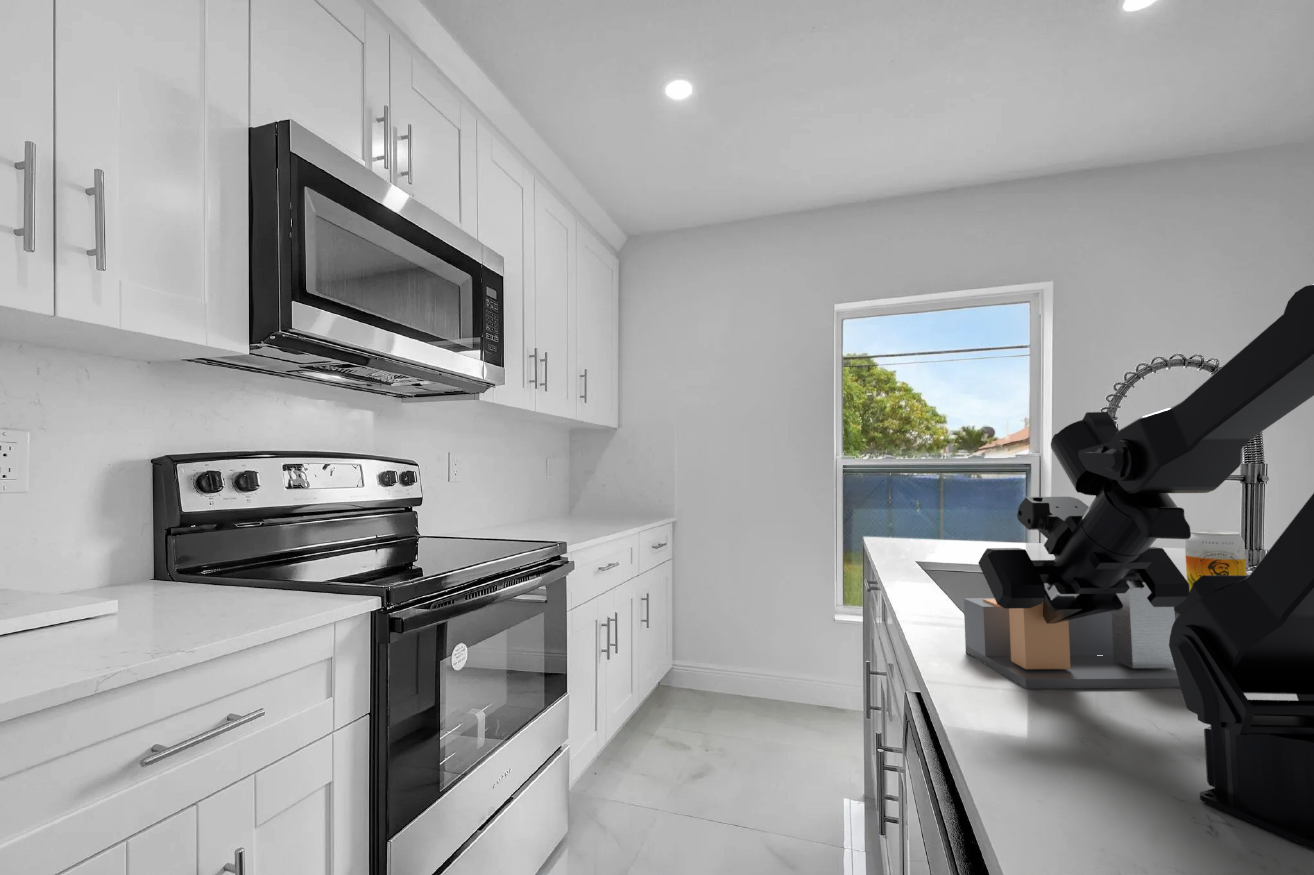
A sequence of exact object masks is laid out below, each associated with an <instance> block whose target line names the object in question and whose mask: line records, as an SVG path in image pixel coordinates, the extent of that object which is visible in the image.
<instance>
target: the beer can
mask: <svg viewBox="0 0 1314 875" xmlns="http://www.w3.org/2000/svg"><path fill="white" fill-rule="evenodd" d="M1190 532H1191V537H1190V538H1189V539H1184V552H1185V553H1184V554H1185V570H1186V571H1185V572H1186V580H1187V582H1188V583H1189V584H1190V590H1191V588H1192V585H1193V583H1194V582H1195V581H1197V580H1198V579H1199V578H1200V577H1201V576H1203V575H1247V563H1246V561H1247V560H1246V548H1245V546H1246V545H1245V540H1244V539H1243V538H1242V536H1241V533H1240V532H1237V531H1229V530H1215V529H1214V530H1213V529H1212V530H1210V529H1190Z"/></svg>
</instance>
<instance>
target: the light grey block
mask: <svg viewBox="0 0 1314 875" xmlns="http://www.w3.org/2000/svg"><path fill="white" fill-rule="evenodd" d="M1142 583H1143V584H1144V586H1145V587H1144V588H1143V589H1128V591H1127V592H1126V593H1117V596H1118V597H1119V599H1120V601H1121V602H1122V604H1123V607H1122V609H1120V610H1113V611H1111V615H1112V635H1113V656H1114V661H1117V662H1119V663H1121V664H1124V665H1126V666H1129V667H1131V668H1175V665H1174V662H1173V658H1172V655H1171V651H1170V647H1169V640H1170V635H1171V630H1172V626H1173V624H1174V621H1175V620H1176V615H1175V614H1176V612H1175V611H1174V607H1153V605H1152V604H1151V603H1150V602H1149V600H1148V599H1147V597H1148V596H1149V595H1150V594H1151V593H1152V592H1151V591H1150V590H1149V588H1148V587H1147V585H1146V584H1145V582H1142Z"/></svg>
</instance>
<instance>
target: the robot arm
mask: <svg viewBox="0 0 1314 875" xmlns="http://www.w3.org/2000/svg"><path fill="white" fill-rule="evenodd" d="M1189 394H1190V395H1188V396H1187V397H1186V398H1184V400H1182V401H1180V402H1179V403H1176V404H1175V405H1173V406H1171V407H1169V408H1165V409H1162V410H1159V411H1156V412H1152V413H1150V414H1146V415H1143V416H1141V417H1139V418H1137V419H1135V420H1134V421H1132V422H1130V423H1129V424H1127V425H1126V426H1123V428H1120V429H1119V428H1118V427H1117V425H1116V424H1115V421H1114V419H1113V417H1112V416H1111V415H1110V413H1108V412H1107V411H1101V412H1100V411H1093V412H1091V411H1089V412H1088V411H1087V412H1086V413H1085V414H1084V416H1083V419H1081V420H1077V421H1075V422H1072V423H1070V424H1069V425H1067V426H1064V428H1062V429H1061V430H1059V432H1057V433H1055V434H1054V435H1053V437H1052V438H1051V440H1050V441H1051V442H1050V448H1051V450H1052V452H1053V454H1054V455H1055V457H1056V458H1057V461H1058V462H1059V464H1060V466H1061V467H1062V469H1063V471H1064V473H1065V475H1066V476H1067V478H1068V479H1069V481H1070V483H1071V485H1072V486H1073V487H1074V490H1075V491H1076V492H1077V493H1078V494H1079V493H1080V494H1083V495H1086V496H1095V497H1094V499H1093V500H1092V502H1091V504H1090V505H1089V506H1088V505H1087V504H1086V503H1084V502H1083V501H1082V500H1081V499H1079V498H1076V497H1073V496H1025V497H1024V499H1023V500H1022V501H1021V503H1020V504H1019V505H1018V509H1017V513H1016V517H1017V520H1018V521H1019V523H1020V524H1022V525H1023V526H1024V528H1026V529H1027V530H1029V531H1031V530H1032V531H1038V532H1039V533H1040V534H1041V535H1043V536H1044V538H1046V541H1045V543H1044V544H1043V546H1044V549H1045V550H1046V552H1047V554H1048V555H1053V556H1054V559H1035V560H1034V559H1033V560H1032V559H1031V557H1030V555H1029V553H1028V551H1027V550H1026V549H1024V548H1019V547H991V548H990V547H988V548H986V549H985V551H984V552H983V553H982V554H981V557H980V559H979V560H978V562H977V563H978V565H979V568H980V570H981V573H982V574H983V576H984V578H985V580H986V583H987V585H988V588H989V589H990V592H991V594H992V595H993V598H995V600H996V602H997V604H998V605H1000V606H1002V607H1003V608H1005V609H1006V608H1032V607H1034V606H1037V605H1039V604H1041V603H1042V602H1043V617H1044V619H1045V621H1046V623H1047V624H1055V623H1059V622H1063V621H1067V620H1071V619H1075V618H1079V617H1084V616H1089V615H1093V614H1098V613H1103V612H1108V611H1113V610H1120V609H1122V607H1123V604H1122V602H1121V601H1120V599H1119V597H1118V596H1117V593H1126V592H1127V591H1128V589H1143V588H1144V587H1145V586H1144V584H1143V583H1142V582H1145V584H1146V585H1147V587H1148V588H1149V590H1150V591H1151V592H1152V593H1151V594H1150V595H1149V596H1148V597H1147V599H1148V600H1149V602H1150V603H1151V604H1152V605H1153V607H1174V611H1175V613H1177V614H1179V615H1178V616H1176V617H1175V621H1174V624H1173V626H1172V630H1171V635H1170V640H1169V647H1170V651H1171V655H1172V658H1173V662H1174V665H1175V669H1176V672H1177V676H1178V679H1179V683H1180V686H1181V688H1180V690H1181V693H1182V696H1183V700H1184V703H1185V706H1186V709H1187V710H1188V711H1190V712H1191V713H1194V714H1196V715H1197V721H1199V722H1200V723H1203V724H1206V725H1210V726H1208V727H1205V728H1204V729H1203V737H1204V753H1205V754H1204V755H1205V757H1204V758H1205V771H1206V782H1207V784H1208V786H1209V787H1211V789H1205V790H1202V791H1200V792H1199V800H1200V801H1201V802H1203V803H1205V804H1207V805H1209V806H1213V807H1215V808H1217V809H1219V810H1221V811H1223V812H1226V813H1228V814H1231V815H1233V816H1235V817H1238V818H1240V819H1243V820H1245V821H1247V822H1250V823H1252V824H1254V825H1257V826H1259V827H1261V828H1264V829H1266V830H1268V831H1270V832H1273V833H1275V834H1277V835H1279V836H1282V837H1284V838H1287V839H1289V840H1292V841H1293V842H1296V843H1299V844H1301V845H1303V846H1306V847H1308V848H1311V849H1314V492H1313V493H1312V494H1311V495H1310V497H1309V498H1308V500H1307V501H1306V502H1305V503H1304V504H1303V506H1302V507H1301V508H1300V509H1299V511H1298V512H1297V513H1296V515H1295V516H1294V517H1293V519H1292V520H1291V521H1290V522H1289V523H1288V525H1287V527H1285V529H1284V530H1283V531H1282V533H1281V534H1280V535H1279V537H1278V538H1277V539H1276V540H1275V542H1274V543H1273V544H1272V546H1270V548H1269V550H1268V551H1267V552H1266V554H1264V556H1263V557H1262V559H1261V560H1260V561H1259V562H1258V564H1257V565H1256V567H1255V568H1253V570H1252V571H1251V572H1250V574H1248V575H1247V574H1246V575H1203V576H1201V577H1200V578H1199V579H1198V580H1197V581H1195V582H1194V583H1193V585H1192V588H1191V590H1190V584H1189V583H1188V582H1187V578H1185V576H1184V575H1183V574H1182V572H1181V570H1180V569H1179V568H1178V567H1177V565H1176V564H1175V563H1174V561H1173V560H1172V559H1171V557H1170V556H1169V554H1168V553H1167V552H1166V550H1165V549H1164V548H1163V547H1158V546H1153V544H1154V542H1155V541H1156V540H1157V539H1161V540H1162V539H1164V540H1165V539H1168V540H1170V539H1171V540H1185V539H1189V538H1190V537H1191V532H1190V530H1191V525H1190V524H1189V522H1188V521H1187V520H1186V516H1185V509H1184V508H1183V507H1178V505H1177V504H1176V503H1175V502H1174V500H1173V499H1172V497H1171V496H1170V495H1169V494H1206V493H1210V492H1213V491H1215V490H1216V489H1218V488H1219V487H1220V486H1221V485H1222V484H1223V483H1224V482H1225V481H1227V479H1228V478H1229V477H1230V476H1231V475H1233V473H1235V471H1236V470H1237V469H1238V468H1239V467H1240V466H1241V465H1242V463H1243V454H1244V453H1243V451H1244V450H1243V448H1244V447H1245V446H1246V445H1247V444H1248V443H1249V442H1250V440H1252V439H1253V438H1254V437H1256V436H1257V435H1259V434H1260V433H1261V432H1264V431H1265V430H1266V429H1268V428H1269V427H1270V426H1272V425H1274V424H1275V423H1277V421H1279V420H1281V419H1282V418H1283V417H1285V416H1287V414H1289V413H1291V412H1292V411H1293V410H1294V411H1295V409H1296V408H1299V406H1301V405H1302V404H1304V403H1305V402H1307V401H1308V400H1309V399H1312V397H1314V283H1313V284H1308V285H1305V286H1303V287H1302V288H1300V289H1298V290H1297V291H1295V292H1294V294H1293V295H1292V296H1291V297H1290V298H1289V299H1288V301H1287V304H1286V305H1285V308H1284V311H1283V313H1282V314H1281V315H1280V316H1278V317H1277V318H1276V319H1275V320H1273V322H1271V323H1270V324H1269V325H1268V326H1267V327H1266V328H1265V329H1264V330H1262V331H1261V332H1260V333H1259V334H1258V335H1257V336H1255V338H1253V339H1252V340H1251V341H1249V343H1248V344H1247V345H1245V346H1244V347H1243V348H1242V349H1241V350H1240V351H1238V353H1236V354H1235V355H1234V356H1233V357H1232V358H1230V359H1229V360H1228V361H1227V362H1226V363H1225V364H1224V365H1223V366H1221V367H1219V369H1218V370H1217V371H1216V372H1214V373H1213V374H1212V376H1209V378H1208V379H1207V380H1205V381H1204V382H1203V383H1202V384H1200V386H1199V387H1197V388H1196V389H1195V390H1194V391H1193V392H1192V393H1189ZM1246 694H1252V695H1254V694H1255V695H1256V694H1259V695H1261V694H1262V695H1296V697H1297V700H1293V699H1292V700H1288V699H1287V700H1284V699H1283V700H1282V699H1248V697H1247V696H1246Z"/></svg>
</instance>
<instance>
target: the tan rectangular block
mask: <svg viewBox="0 0 1314 875" xmlns="http://www.w3.org/2000/svg"><path fill="white" fill-rule="evenodd" d="M1009 620H1010V645H1011V661H1012V662H1014V663H1015V664H1017V665H1019V666H1021V667H1023V668H1025V669H1071V668H1070V646H1069V624H1068V620H1067V621H1063V622H1059V623H1055V624H1047V623H1046V621H1045V619H1044V617H1043V602H1042V603H1041V604H1039V605H1037V606H1034V607H1032V608H1009Z"/></svg>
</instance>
